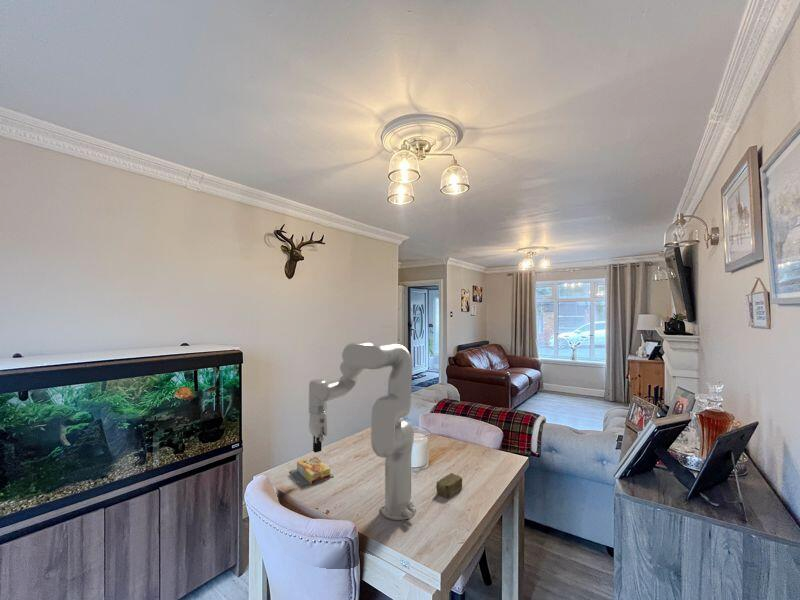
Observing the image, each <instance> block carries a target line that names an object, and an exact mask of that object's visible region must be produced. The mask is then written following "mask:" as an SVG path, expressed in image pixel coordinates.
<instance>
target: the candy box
mask: <svg viewBox="0 0 800 600" xmlns="http://www.w3.org/2000/svg"><path fill="white" fill-rule="evenodd" d="M296 465H297V466H296V469H297V471H298V472H299V473H300V474H301V475H302V476H303V477H304V478H305V479H306V480H308V481H309V482H310V483H311V484H310V485H313V484H316V483H319V481H320V482H322V480H323V481H325V480H324V479H326V480H328V479H327V478H329V479H331V478H330V473H331V468H330V467H329V466H327V465H326V464H325V463H324V462H322V461H321V460H320V459H319V458H317V457H316V456H312V457H309V458H305V459H302V460H299V461H297V462H296Z"/></svg>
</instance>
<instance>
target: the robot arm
mask: <svg viewBox="0 0 800 600" xmlns="http://www.w3.org/2000/svg"><path fill="white" fill-rule="evenodd" d="M341 357H342V362H341V363H340V365H339V369H340V373H341V374H342V375H341V376H340V378H339V379H334V380H330V381H326V379H322V378H321V379H320V378H316V379H312V380H310V381H309V384H308V414H309V418H308V419H309V420H308V421H309V422H308V431H309V433H310V434H311V435H312V451H313V453H319V452H322V445H323V444H322V442H323V441H325V439H324V436H325V437H327V436H328V418H327V409H328V408H327V406H328V405H327V404H328V403H327V402H330V401H332V400H335V399H338V398H341V397H344V396H346V395H347V394H348V393H350V392H351V391H352V389H353V388H354V387H355V386H356V384H357V382H358V377H359V376H360V374H361V373H362V372H364V370H365V369H368V370H381V369H386V368H390V367H391V371H390V372H389V376H388V379H387V381H388V382H387V385H388V387H387V393H386V395H383V396H380V397H379V398H377V399H376V400H375V401H374V403H373V406H372V409H371V418H370V419H371V422H370V425H371V426H370V430H371V431H370V443H371V448H372V451H373V452H374V454H375V455H376V456H378V457H379V458H383V459H385V462H384V465H385V466H384V501H383V502H382V503H381V504H380V512H381V514H382V516H383V517H385V518H387V519H389V520H391V521H392V520H393V521H404V520H407V519H410V520H411V519H412V518H413V517H414V515H415V514H416V513H417V510H416V508H417V507H416V504H415V502H413V500H412V455H413V453H412V452H413V445H414V439H415V438H414V437H415V432H414V429H413V427H412V425H411V423H409V422H408V421H407V420H404V418H406V417H407V416H408V415H409V414H410V413H411V409H412V377H413V376H412V375H413V358H412V355H411V353H410V351H409V350H408V348H407V347H406V346H404V345H403V344H399V343H394V342H393V343H392V342H390V343H383V344H377V345H375V344H373V343H372V342H370V341H359V342H351V343H348V344H347V345H346V346H345V347H344V349H343V350H342V354H341Z"/></svg>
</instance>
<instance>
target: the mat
mask: <svg viewBox="0 0 800 600" xmlns="http://www.w3.org/2000/svg"><path fill="white" fill-rule="evenodd" d="M290 472H291V473H290ZM289 473H290V474H291V476H292V477H293V476H294V477H295V478H294V477H293V478H294V479H295V480H296V481H298V482H299V483H298V482H297V483H298V484H299V485H300V487H301V486H303V487H306V485H307V486H309V484H310V485H312V484H311V483H310V482H309V481H308V480H306V479H305V478H304V477H303V476H302V475H301V474H300V473H299V472H298V471H297V468H295V469H292V470H291V469H290V470H289ZM334 477H335V476H334V475H333V474H332V473H331V472H330V478H327V479H324V480H322V481H326V480H329V479H333V478H334ZM322 481H321V482H322Z"/></svg>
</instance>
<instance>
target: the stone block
mask: <svg viewBox="0 0 800 600" xmlns="http://www.w3.org/2000/svg"><path fill="white" fill-rule="evenodd" d="M435 488H436V493H437V494H438V495H440V496H441V497H443V498H446V499H449V498H450V497H451V496H453V495H454V494H456V493H457V492H460V491H461V490H462V489H461V488H463V477H461V476H460V475H457V474H455V473H452V472H451V473H449V474H447V475H446V476H444V477H443V478H441V479H439V480H438V481H437V482H436V485H435ZM460 489H461V490H460Z"/></svg>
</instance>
